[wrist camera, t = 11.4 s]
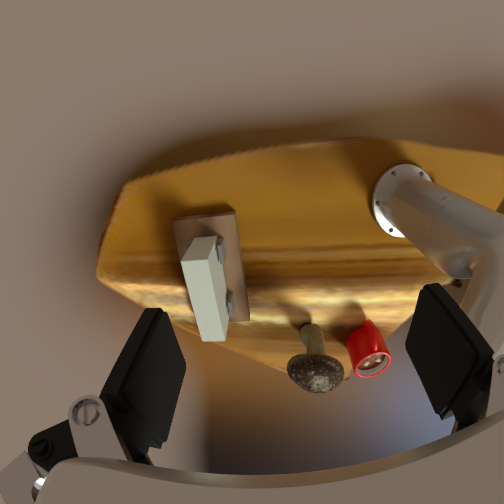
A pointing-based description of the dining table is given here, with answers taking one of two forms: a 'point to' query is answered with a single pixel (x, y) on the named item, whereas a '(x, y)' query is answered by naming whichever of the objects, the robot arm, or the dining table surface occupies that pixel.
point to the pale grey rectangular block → (207, 288)
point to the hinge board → (227, 249)
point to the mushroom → (314, 363)
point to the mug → (367, 351)
